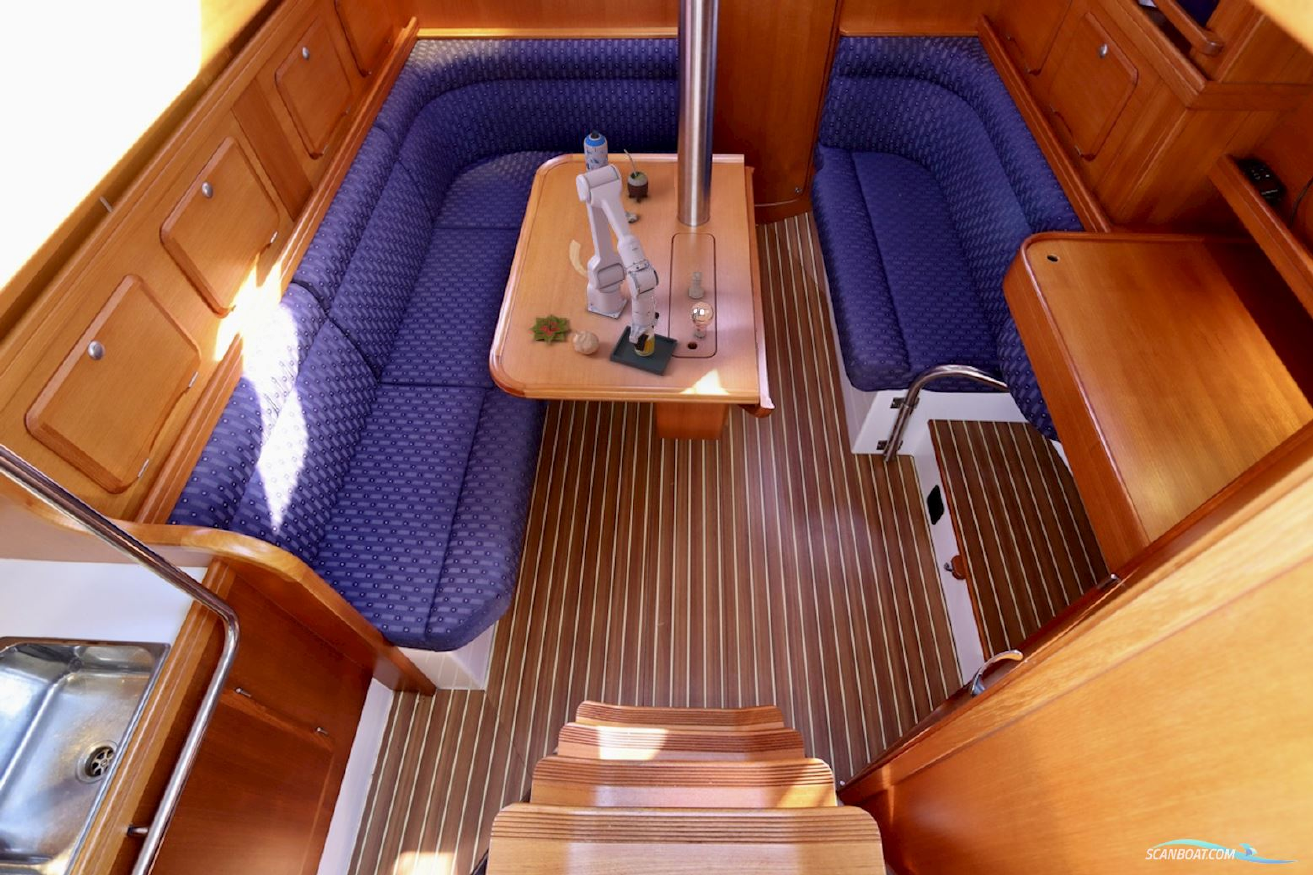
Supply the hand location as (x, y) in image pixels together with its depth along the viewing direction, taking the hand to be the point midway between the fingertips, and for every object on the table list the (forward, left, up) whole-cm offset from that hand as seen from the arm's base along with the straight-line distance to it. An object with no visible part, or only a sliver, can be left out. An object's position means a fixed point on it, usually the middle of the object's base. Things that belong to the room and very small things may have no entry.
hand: (643, 342), depth 177 cm
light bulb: (+12, +12, -4) cm, 18 cm away
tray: (0, 0, -4) cm, 4 cm away
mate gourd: (-28, +64, -4) cm, 70 cm away
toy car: (-27, +51, -4) cm, 58 cm away
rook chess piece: (+6, +27, -4) cm, 28 cm away
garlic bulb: (-15, -5, -4) cm, 16 cm away
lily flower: (-28, -2, -4) cm, 28 cm away
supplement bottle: (0, 0, -3) cm, 3 cm away
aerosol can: (-42, +64, -4) cm, 77 cm away
